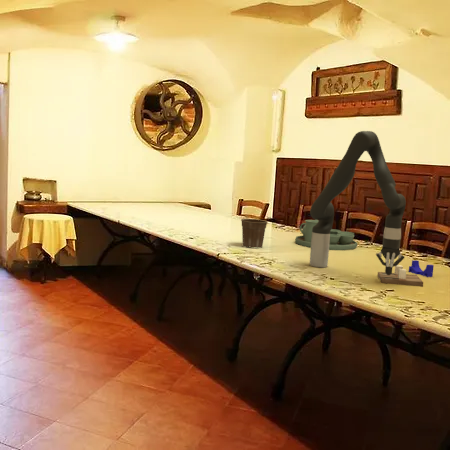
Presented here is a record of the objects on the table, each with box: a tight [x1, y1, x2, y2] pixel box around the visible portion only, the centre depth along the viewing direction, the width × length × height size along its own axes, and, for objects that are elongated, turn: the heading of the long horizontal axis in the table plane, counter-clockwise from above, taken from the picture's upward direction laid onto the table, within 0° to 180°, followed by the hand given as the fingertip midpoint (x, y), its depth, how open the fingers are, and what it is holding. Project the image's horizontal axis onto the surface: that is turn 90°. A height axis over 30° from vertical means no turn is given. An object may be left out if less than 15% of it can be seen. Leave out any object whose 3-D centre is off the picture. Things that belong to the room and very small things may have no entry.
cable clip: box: [408, 259, 434, 278], centre depth 258 cm, size 12×4×6 cm, turn 20°
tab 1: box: [394, 264, 404, 275], centre depth 244 cm, size 3×3×4 cm
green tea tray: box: [294, 219, 358, 251], centre depth 336 cm, size 40×40×16 cm
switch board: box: [376, 271, 424, 287], centre depth 240 cm, size 15×18×2 cm
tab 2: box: [398, 268, 407, 279], centre depth 235 cm, size 3×3×4 cm
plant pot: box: [240, 218, 268, 248], centre depth 313 cm, size 16×16×16 cm
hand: (388, 274), depth 236 cm, fingers closed
